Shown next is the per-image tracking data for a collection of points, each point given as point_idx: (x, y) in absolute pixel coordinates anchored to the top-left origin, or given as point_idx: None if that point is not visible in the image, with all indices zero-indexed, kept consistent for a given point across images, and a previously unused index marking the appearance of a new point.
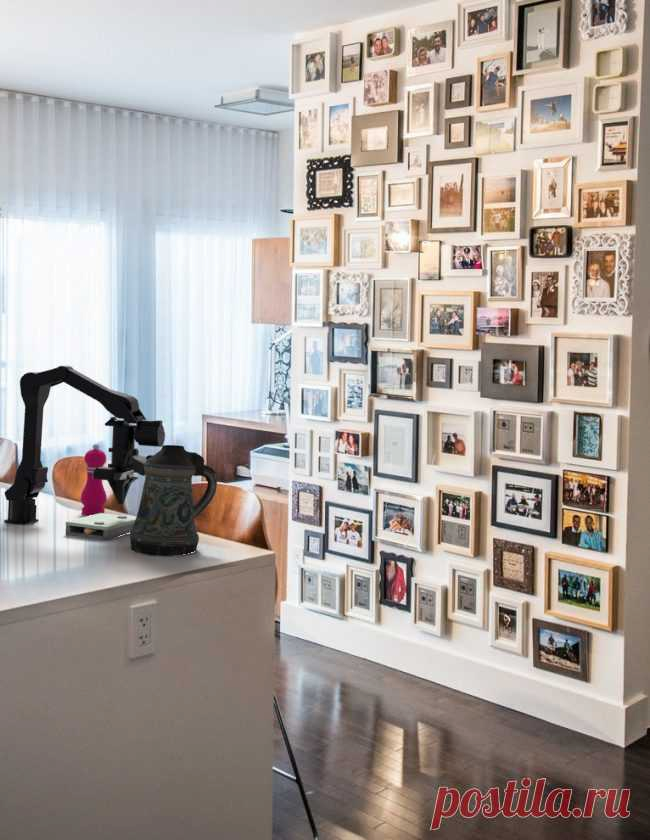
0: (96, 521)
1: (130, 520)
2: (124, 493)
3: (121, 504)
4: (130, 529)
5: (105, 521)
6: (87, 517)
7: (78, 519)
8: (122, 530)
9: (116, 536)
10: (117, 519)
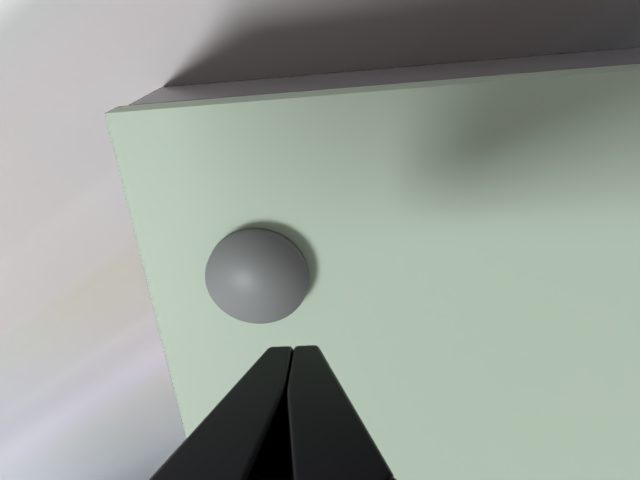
0: (625, 329)
1: (334, 110)
2: (257, 470)
3: (315, 347)
4: (348, 76)
5: (572, 271)
6: (476, 477)
7: (614, 475)
8: (517, 66)
9: (619, 50)
10: (384, 250)
